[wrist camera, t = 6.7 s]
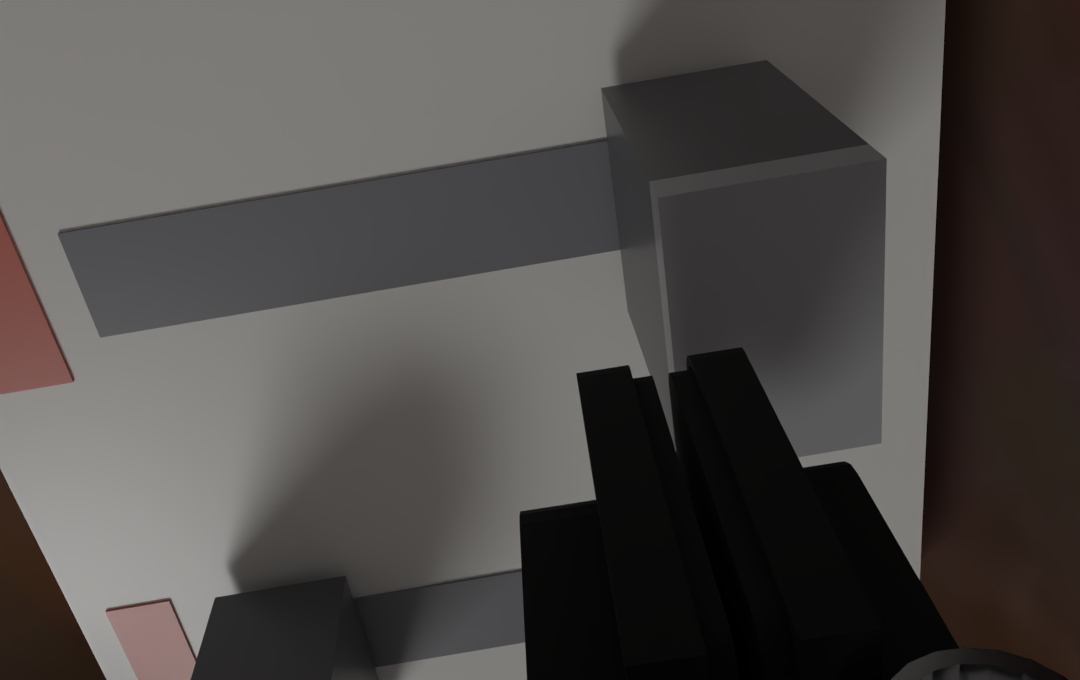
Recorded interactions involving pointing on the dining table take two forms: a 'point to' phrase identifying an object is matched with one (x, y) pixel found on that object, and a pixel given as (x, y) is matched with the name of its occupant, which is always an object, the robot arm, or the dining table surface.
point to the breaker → (286, 635)
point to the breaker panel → (370, 291)
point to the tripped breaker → (754, 242)
